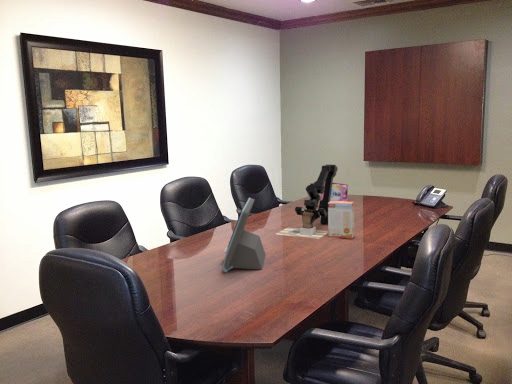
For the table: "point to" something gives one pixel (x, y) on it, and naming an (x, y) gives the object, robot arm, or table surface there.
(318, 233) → the board
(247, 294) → the table surface
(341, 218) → the cracker box
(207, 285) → the table surface
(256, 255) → the touchscreen device
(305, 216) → the walnut block
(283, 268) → the table surface
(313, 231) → the sleeve
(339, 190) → the gum box
